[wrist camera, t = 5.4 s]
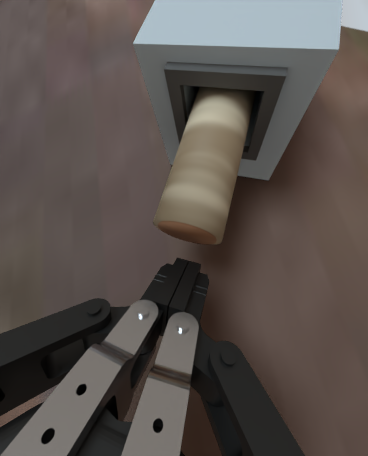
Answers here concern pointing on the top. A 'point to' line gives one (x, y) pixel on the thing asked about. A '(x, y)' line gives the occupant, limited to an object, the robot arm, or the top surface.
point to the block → (238, 65)
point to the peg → (206, 166)
